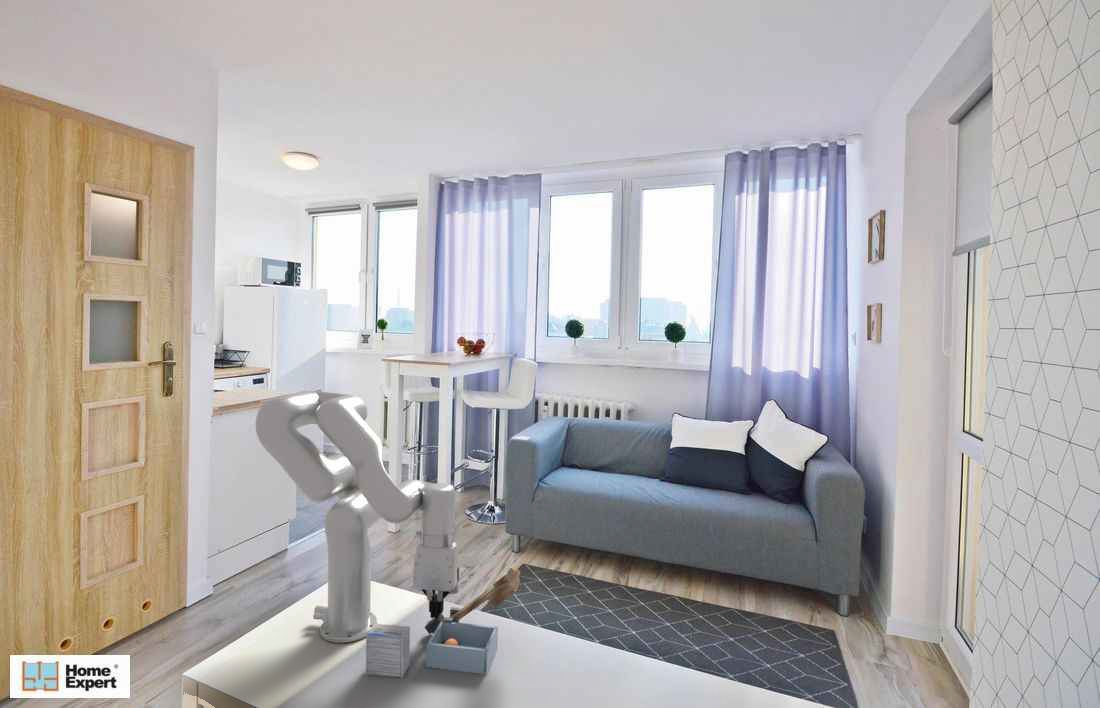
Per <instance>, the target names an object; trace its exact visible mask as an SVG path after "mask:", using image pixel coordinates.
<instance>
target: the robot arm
mask: <svg viewBox="0 0 1100 708" xmlns="http://www.w3.org/2000/svg"><path fill="white" fill-rule="evenodd" d="M367 417H368V408H367V405H366V403H365V401H363V400H362V399H361V398H360V397H358V396H356V395H353V394H346V393H335V392H328V391H327V392H326V391H318V390H302V391H297V392H292V393H291V392H290V393H285V394H279V395H277V396H274V397H271V398H270V399H268V400H267V401H266V402H264V403H263V404H262V405H261V407H260V408H259V410H258V411H257V413H256V418H255V432H256V435H257V436H256V437H257V439H258V441H259V442H260V444H261V446H262V447H263V448H264V450H266V452H267V453H269V454H270V456H272V458H273V459H274V460H275V461H276V462H278V464H279V465H280V466H281V468H282V469H283V470H284V472H286V474H287V475H288V477H290V479H291V480H292V481H293V482H294V483H295V485H296V486H297V487H298V488H299V489H300V491H301V492H302V493H303V494H304V496H305V497H307V499H309V501H311V502H313V503H317V504H319V503H320V504H322V503H325V502H327V501H331V499H334V498H336V497H337V498H338V500H337V501H336V502H334V504H333V505H331V507H330V508H329V509H328V510H327V513H326V514H325V518H324V532H325V537H326V544H327V574H328V575H327V606H323V605H316V606H315V608H314V610H313V613H314V614H313V615H312V616H313V617H312V618H313V620H320V621H322V623H321V625H320V630H319V631H320V632H319V633H320V634H319V635H320V636H321V638H322V639H323V640H325V641H327V642H330V643H337V644H338V643H340V644H344V643H351V642H354V641H355V642H356V641H359V640H361V639H364V638H366V635H367V634H368V632H369V631H370V630H371V629H372V627H373V626H374V625H375V624H378V618H377V616H376V614H374V613H372V612H371V598H372V597H371V594H372V592H371V588H372V587H371V585H372V584H371V582H372V581H371V580H372V574H371V573H372V549H371V544H370V539H369V534H368V532H369V531H368V529H369V528H371V527H372V526H373V525H374V524H375V523H377V521H379V520H380V519H381V518H382V519H383V520H385V521H386V522H388V523H390V524H395V525H398V524H403V523H405V522H407V521H408V520H410V519H411V518H412V517H413V516H414V515H416V513H419V512H421V530H417V531H416V533H415V537H416V538H419V540H420V542H418V544H417V545H416V550H415V557H414V561H413V562H414V563H413V571H412V585H413V589H415V590H418V591H421V592H423V594H424V595H425V596H426V599H427V601H428V612H429V613H430V614H429V615H430V619H433V618H436V619H437V618H438V616H439V615H440V613H442V614H443V612H444V604H445V603H444V602H445V601H444V599H445V598H446V597H447V596H448V595H452V594H453V595H455V594H458V592H459V591H460V584H459V582H460V579H461V578H460V575H461V573H460V572H461V571H460V570H461V569H460V568H461V567H460V554H459V549H458V544H457V542H456V541H455V526H456V525H455V523H456V522H455V521H456V489H455V486H453V485H451V484H449V483H444V482H437V483H431V482H427V481H423V480H419V479H407V480H404V481H403V482H401V483H400V484H398V485H397V484H396V483H395V482H394V480H393V479H392V478H391V477H390V476H389V474H388V473H387V471H386V469H385V467H384V464H383V458H382V457H383V449H384V447H383V446H384V443H383V441H382V439H381V437H379V436H378V435H377V434H376V432H375V431H374V430H373V429H372V428H371V426H369V425H368V423H367V422H366V419H367ZM308 425H317V427H318V428H319V429H320V430H321V432H322V433H323V435H325V436H326V437H327V438H328V439H329V440H330V442H331V443H332V444H333V445H334V447H335V448H337V450H338V451H339V453H341V454H333V455H330V456H326V455H325V454H324V453H323V452H322V451H321V450H320V449H319V448H318V447H317V445H316V444H315V443H314V442H313V441H312V440H311V439H310V438H308V437H307V436H305V435H303V434H302V433H300V432H299V430H298V428H301V427H305V426H308Z"/></svg>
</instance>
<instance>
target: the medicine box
mask: <svg viewBox="0 0 1100 708" xmlns="http://www.w3.org/2000/svg"><path fill="white" fill-rule="evenodd" d="M410 635H411V627H410V626H408V625H407V626H406V625H397V624H395V625H394V624H384V623H383V624H382V623H377V624H375V625H374V626H373V627H372V629H371V630H370V631H369V632H368V634H367V635H366V636H365V639H366V640H365V642H366V643H365V644H366V645H365V649H366V650H365V675H366V676H367V675H368V676H379V677H391V678H401V679H403V677H404V675H405V673H406V672H407V671H408V668H409V666H410V663H411V662H410V661H411V660H410V657H411V655H410V653H411V652H410V648H411V647H410V646H411V645H410V644H411V642H410V641H411V640H410V638H411V636H410Z"/></svg>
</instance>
